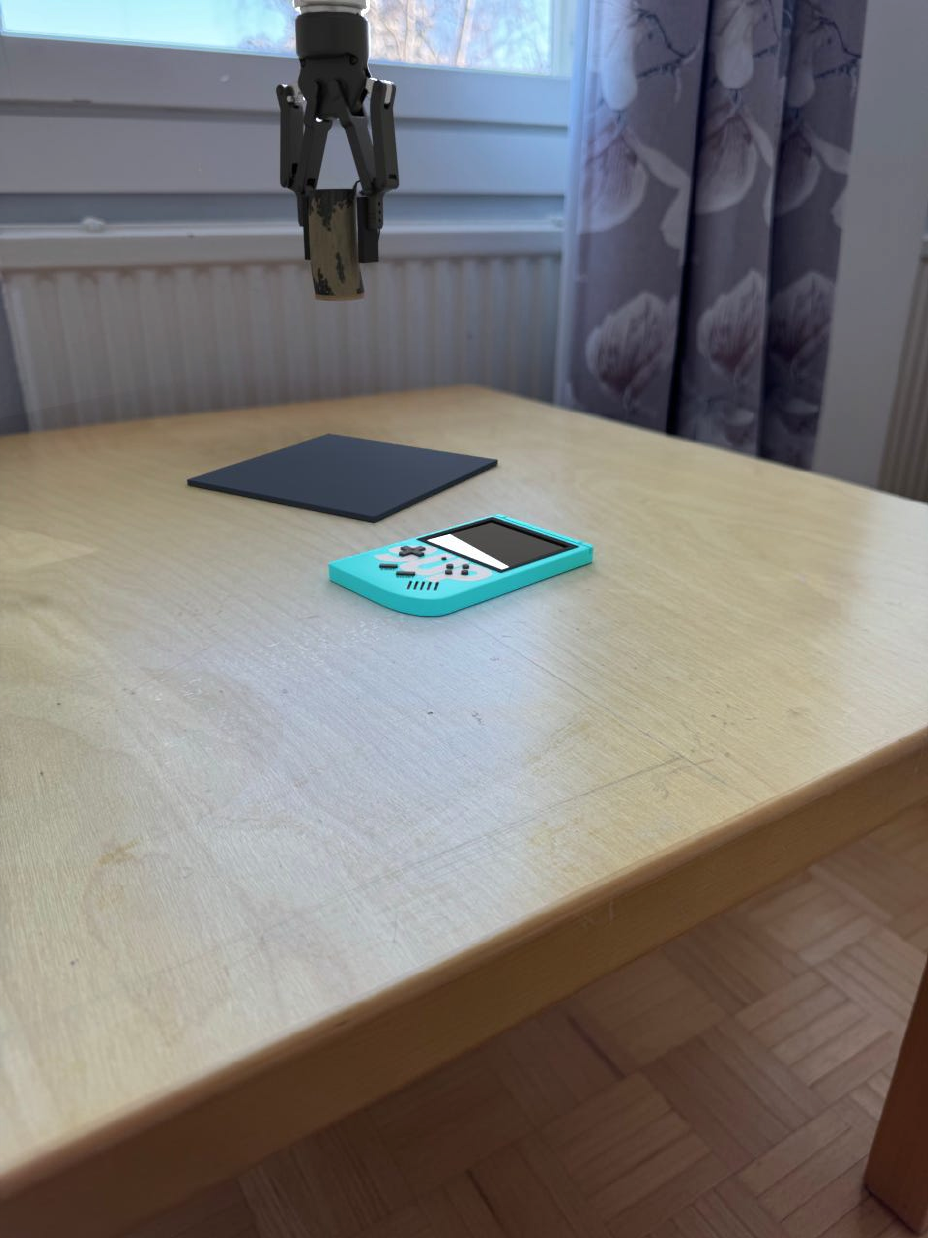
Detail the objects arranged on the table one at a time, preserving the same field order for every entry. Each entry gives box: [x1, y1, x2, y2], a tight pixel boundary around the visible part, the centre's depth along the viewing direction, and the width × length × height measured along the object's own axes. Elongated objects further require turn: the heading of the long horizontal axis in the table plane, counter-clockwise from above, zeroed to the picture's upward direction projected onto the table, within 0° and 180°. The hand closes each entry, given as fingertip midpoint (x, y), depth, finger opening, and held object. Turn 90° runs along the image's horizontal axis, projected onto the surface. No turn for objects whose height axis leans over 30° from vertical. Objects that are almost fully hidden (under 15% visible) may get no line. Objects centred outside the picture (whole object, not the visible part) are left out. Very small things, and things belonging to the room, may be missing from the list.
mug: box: [309, 179, 381, 302], centre depth 105 cm, size 8×6×12 cm
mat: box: [186, 433, 499, 523], centre depth 87 cm, size 20×20×1 cm
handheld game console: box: [328, 513, 594, 617], centre depth 66 cm, size 10×16×1 cm, turn 132°
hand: (341, 260), depth 105 cm, fingers open, 6 cm apart
